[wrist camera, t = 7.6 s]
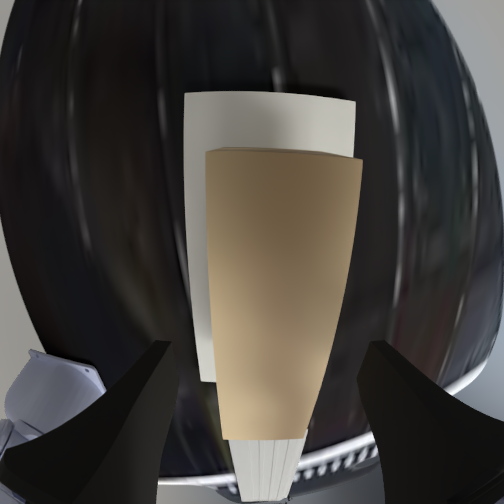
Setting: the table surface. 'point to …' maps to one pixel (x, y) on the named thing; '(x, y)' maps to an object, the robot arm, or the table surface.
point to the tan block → (276, 280)
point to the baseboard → (265, 467)
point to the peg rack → (246, 135)
